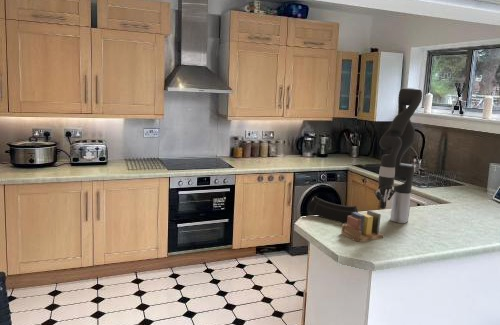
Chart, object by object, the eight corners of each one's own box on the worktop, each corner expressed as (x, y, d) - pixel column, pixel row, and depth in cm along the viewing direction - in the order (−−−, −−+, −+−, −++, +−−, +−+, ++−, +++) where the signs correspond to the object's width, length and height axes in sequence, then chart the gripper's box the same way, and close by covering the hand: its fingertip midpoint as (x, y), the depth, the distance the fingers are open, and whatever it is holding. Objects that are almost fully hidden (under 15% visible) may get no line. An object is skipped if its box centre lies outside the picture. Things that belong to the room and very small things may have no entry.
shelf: (365, 229, 219) (368, 208, 217) (383, 237, 209) (385, 215, 207) (341, 233, 210) (343, 212, 208) (358, 242, 200) (360, 219, 198)
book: (363, 230, 213) (365, 213, 212) (371, 233, 209) (373, 216, 207) (358, 231, 212) (360, 214, 210) (366, 234, 207) (368, 217, 205)
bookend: (366, 228, 216) (369, 210, 214) (378, 233, 209) (380, 214, 208) (365, 228, 216) (367, 210, 214) (376, 234, 209) (379, 214, 207)
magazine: (365, 210, 224) (318, 184, 238) (363, 211, 221) (315, 185, 235) (353, 236, 229) (308, 210, 244) (351, 238, 227) (305, 211, 241)
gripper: (383, 177, 204) (379, 211, 207) (401, 176, 210) (397, 209, 213) (371, 174, 210) (368, 207, 213) (390, 173, 217) (386, 205, 220)
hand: (382, 208), depth 213 cm, fingers closed
